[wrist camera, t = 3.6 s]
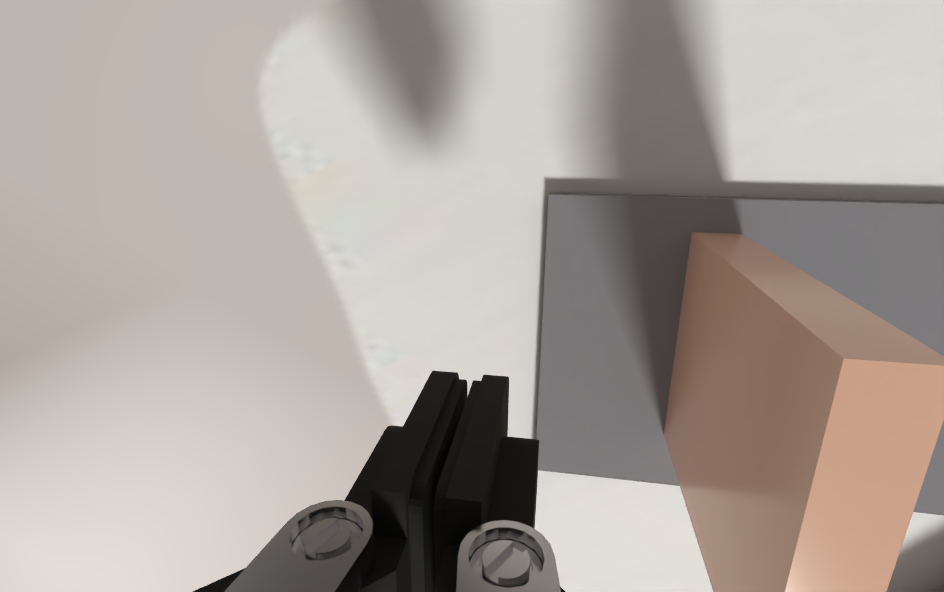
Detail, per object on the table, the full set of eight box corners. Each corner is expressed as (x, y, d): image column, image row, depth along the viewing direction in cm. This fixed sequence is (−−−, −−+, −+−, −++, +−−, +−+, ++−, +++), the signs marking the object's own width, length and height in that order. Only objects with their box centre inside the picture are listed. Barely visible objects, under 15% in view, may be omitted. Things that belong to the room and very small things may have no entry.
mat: (1207, 209, 13) (1225, 211, 13) (1066, 521, 17) (1078, 530, 16) (548, 192, 16) (548, 194, 16) (535, 462, 19) (534, 469, 19)
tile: (748, 234, 15) (976, 367, 7) (712, 438, 17) (851, 734, 9) (691, 232, 15) (842, 358, 7) (663, 434, 18) (753, 717, 9)
